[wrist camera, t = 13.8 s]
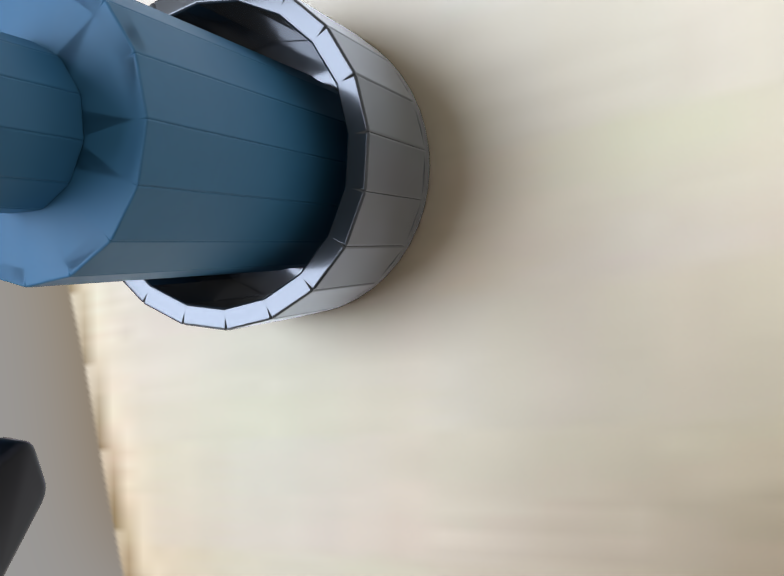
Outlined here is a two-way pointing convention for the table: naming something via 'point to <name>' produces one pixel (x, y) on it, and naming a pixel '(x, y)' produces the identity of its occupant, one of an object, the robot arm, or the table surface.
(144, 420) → the table surface
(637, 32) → the table surface
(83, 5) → the bottle
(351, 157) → the cup holder
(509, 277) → the table surface
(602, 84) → the table surface
